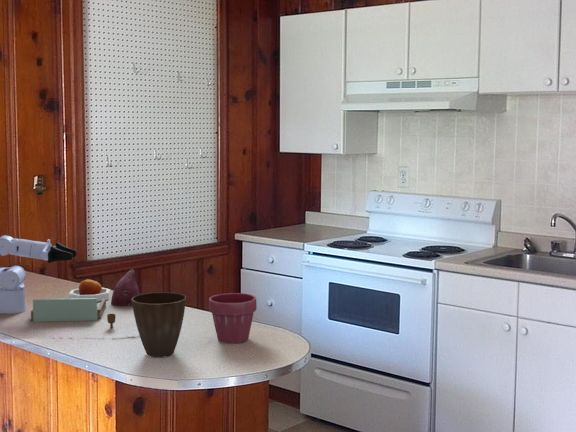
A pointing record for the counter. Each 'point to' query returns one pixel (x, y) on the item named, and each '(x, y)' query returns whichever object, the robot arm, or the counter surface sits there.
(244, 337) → the plant pot
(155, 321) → the plant pot
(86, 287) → the fruit
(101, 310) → the tan lipped tray
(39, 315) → the panel
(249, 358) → the counter surface
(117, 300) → the vegetable
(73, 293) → the fruit dish
